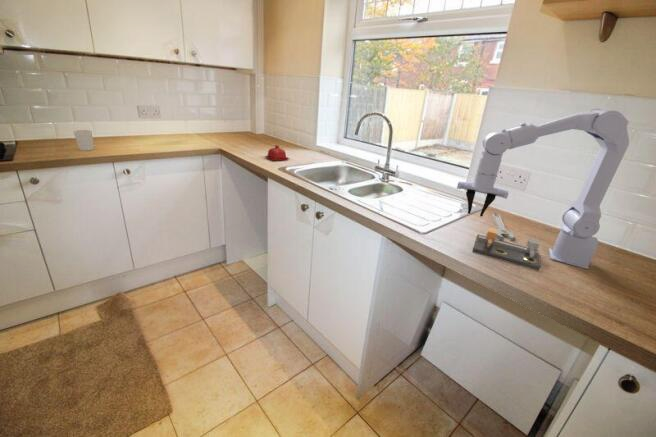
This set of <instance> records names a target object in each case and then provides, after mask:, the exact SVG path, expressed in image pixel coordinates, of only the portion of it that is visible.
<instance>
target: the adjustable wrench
mask: <svg viewBox="0 0 656 437" xmlns="http://www.w3.org/2000/svg"><path fill="white" fill-rule="evenodd" d="M491 216H492V219H493V221H494V224H495V226H496V229H498V230H497V235H496V238H495V239H497V240H501V241H504V237H506V238H507V239H508V240H509V241H510V242H511V241H512V242H513V241H514V238H515V233H514V232H511V231H509V230H507V228H506V227H505V224H504V222H503V220H502V217H501V214H499V213H496V212H494V213H492V215H491Z"/></svg>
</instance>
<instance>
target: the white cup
mask: <svg viewBox="0 0 656 437" xmlns="http://www.w3.org/2000/svg"><path fill="white" fill-rule="evenodd" d="M73 134H74V137H75V140H76V144H77V147H78V150H79V151H83V152H84V151H93V150H94V149H95V146H94V138H93V137H94V136H93V133H92V130H90V129H89V130H88V129H76V130H74V131H73Z"/></svg>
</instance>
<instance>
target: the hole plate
mask: <svg viewBox="0 0 656 437" xmlns="http://www.w3.org/2000/svg"><path fill="white" fill-rule="evenodd" d="M487 246H488V240H486V236H485V235H481V234H477V235H476V238H475V241H474V245H473V247H472V252H473V253H475V254H480V255H484V256H487V257H490V258H493V259H498V260H501V261H505V262H508V263H512V264H515V265H517V266H522V267H526V268H529V269H533V270H536V271H540V268H541V261H540V254H539V246H540V242H539V239H538V238H537V239H536V238H532V237H528V240H527V242H526V245H525V246H523V245H519V244H516V243H511V242H508V241H505V240H500V239H497V238H495V241H494V242H492V243H491V245H490V247H489V248H488V247H487Z"/></svg>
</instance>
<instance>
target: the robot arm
mask: <svg viewBox="0 0 656 437" xmlns="http://www.w3.org/2000/svg"><path fill="white" fill-rule="evenodd" d="M628 125H629V120H628V119H627V118H626V117H625V116H624V115H623V113H621V112H620V111H617V110H608V109H607V110H606V109H602V108H601V109H600V108H593V109H591V110H588V111H587V110H584V111H580V112H576V113H572V114H569V115H566V116H563V117H560V118H557V119H554V120H550V121H548V122H544V123H541V124H538V125H534V124H533V123H530V122H529V123H526V122H521V123H519V125H518V126H516V127H512V128H508V129H506V128H502V129H501V130H500V132H497V131H495V132H490V133H489V134H488V135H486V136H485V138H484V139H483V140H482V147H483V150H482V152H481V156H480V158H479V162H478V165H477V169H476V173H475V177H474V181H473V182H465V181H458V182H457V186H456V189H459V190H466V191H465V192H466V193H465V194H466V195H465V196H466V200H467V207H468V208H467V214H471V212H472V208H473V203H474V200H475V196H476V193H478V194H479V193H480V194H484V195H486V196H485V200H484V204H483V207H482V209H481V211H480V215H479V217H481V218H482V217H483V216H484V213H485V212H486V210H487V209H488V208H489V207H490V205H491V204H492V203H493V202H494V200H496V197H499V198H503V199H505V200H506V199H508V197H509V193H510V192H509V190H505V189H500V188H497V187H494V185H495V183H496V180H497V176H498V172H499V169H500V166H501V162H502V158H503V155H504V153H505V152H506V151H507V150H512V149H517V148H520V147H524V146H527V145H528V146H529V145H531V144H534V143H536V141H537V139H539V138H541V137H544V136H549V135H553V134H558V133H561V132H565V131H569V130H577V131H583V132H585V133H587V135H590V136H592V137H593V138H594V140H595V141H596V142H597V143H598V145H599V146H600V148H599V150H598V152H597V155H596V157H595V159H594V161H593V163H592V166H591V168H590V171H589V173H588V175H587V177H586V180H585V181H584V184H583V186H582V189H581V191H580V193H579V196H578V198H577V199H576V200H574V201H573V202H571V204H570V206H569V208H567V209H566V210H565V211H564V212H563V214H562V216H561V218H562V219H561V220H562V222H563V225H562V226H561V229H560V231H559V232H558V236H557V238H556V241H555V243H554V246H553V248H548V252H549V258H550V259H551V260H553V261H557V262H561V263H563V264H567V265H572V266H575V267H579V268H582V269H586V270H587V269H589V265H590V263H591V261H592V259H593V257H594V255H595V253H596V251H597V248H598V245H599V242H598V241H599V240H598V237H595V235H596V234H597V233H598V232H599V231H600V220H601V218H602V211H601V204H602V202H603V200H604V197H605V196H606V193H607V192H608V189H609V187H610V185H611V183H612V181H613V179H614V177H615V174H616V172H617V170H618V168H619V166H620V164H621V162H622V160H623V157H624V155H625V154H626V152H627V150H628V147H629V145H630V137H629V131H628Z"/></svg>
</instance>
